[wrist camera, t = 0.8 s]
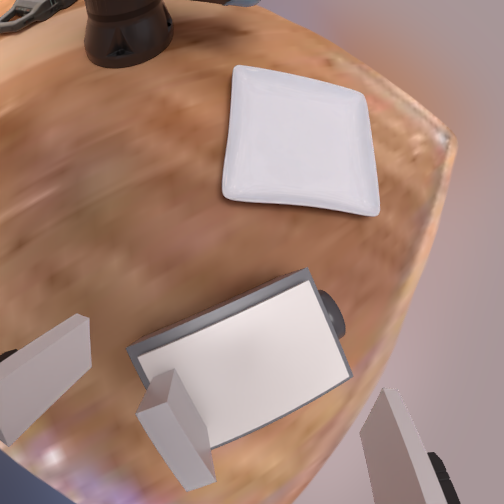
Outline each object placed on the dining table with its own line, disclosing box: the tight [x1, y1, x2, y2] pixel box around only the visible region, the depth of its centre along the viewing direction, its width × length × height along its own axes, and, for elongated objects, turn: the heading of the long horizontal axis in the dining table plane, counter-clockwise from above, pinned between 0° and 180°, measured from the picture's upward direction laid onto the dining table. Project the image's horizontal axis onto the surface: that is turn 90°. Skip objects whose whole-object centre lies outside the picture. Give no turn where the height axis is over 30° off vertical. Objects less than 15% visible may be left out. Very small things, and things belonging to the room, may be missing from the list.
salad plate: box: [222, 65, 380, 217], centre depth 40 cm, size 21×21×3 cm
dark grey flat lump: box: [0, 0, 76, 33], centre depth 34 cm, size 16×20×5 cm
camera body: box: [126, 267, 353, 450], centre depth 30 cm, size 20×12×9 cm, turn 114°
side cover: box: [135, 280, 349, 492], centre depth 21 cm, size 16×10×10 cm, turn 115°
